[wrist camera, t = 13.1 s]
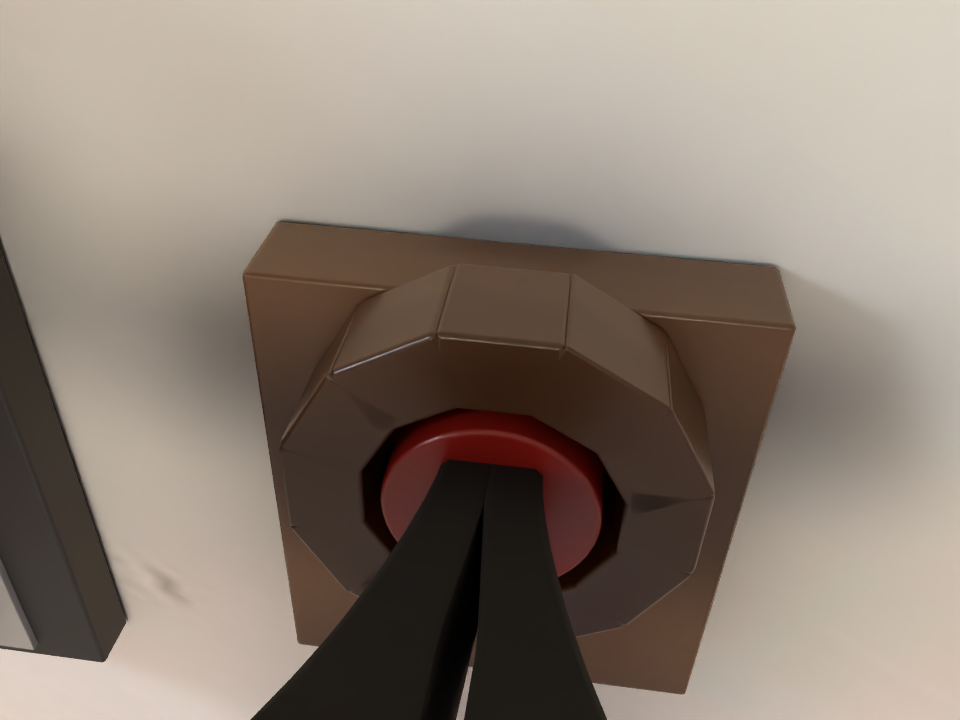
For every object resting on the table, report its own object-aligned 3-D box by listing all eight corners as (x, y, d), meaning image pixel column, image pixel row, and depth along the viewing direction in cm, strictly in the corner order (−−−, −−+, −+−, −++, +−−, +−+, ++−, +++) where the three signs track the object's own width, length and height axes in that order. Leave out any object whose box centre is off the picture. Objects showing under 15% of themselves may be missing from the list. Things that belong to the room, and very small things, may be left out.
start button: (592, 517, 15) (589, 601, 13) (405, 496, 15) (382, 576, 14) (616, 366, 13) (615, 446, 11) (400, 343, 13) (374, 419, 12)
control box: (680, 626, 19) (691, 784, 16) (319, 580, 19) (269, 725, 17) (788, 233, 13) (834, 373, 10) (272, 188, 14) (184, 307, 11)
